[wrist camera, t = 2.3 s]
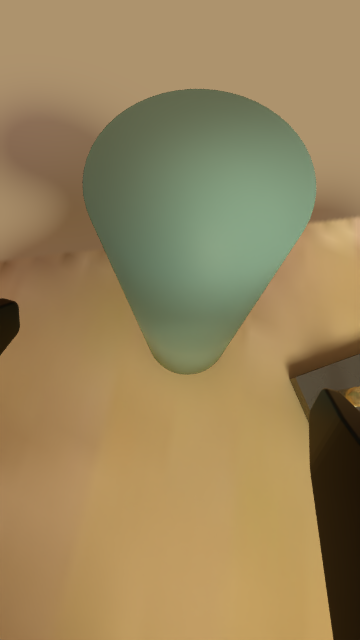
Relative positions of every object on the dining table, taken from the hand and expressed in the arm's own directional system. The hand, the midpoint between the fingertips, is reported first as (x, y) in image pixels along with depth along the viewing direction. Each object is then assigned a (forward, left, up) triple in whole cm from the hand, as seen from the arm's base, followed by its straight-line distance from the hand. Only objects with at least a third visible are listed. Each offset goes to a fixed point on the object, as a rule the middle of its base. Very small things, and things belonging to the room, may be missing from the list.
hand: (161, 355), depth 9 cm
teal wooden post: (+2, +3, -11) cm, 11 cm away
